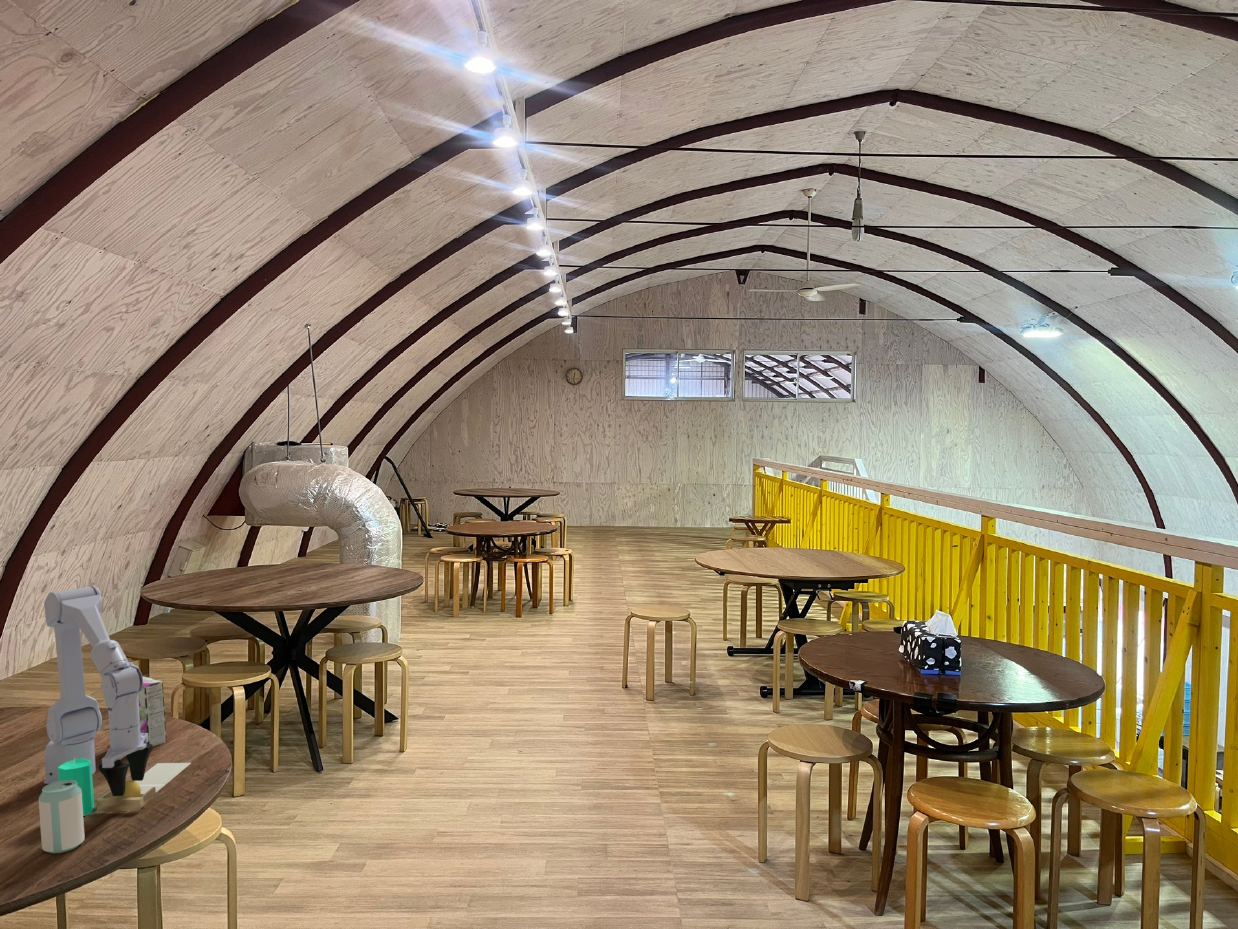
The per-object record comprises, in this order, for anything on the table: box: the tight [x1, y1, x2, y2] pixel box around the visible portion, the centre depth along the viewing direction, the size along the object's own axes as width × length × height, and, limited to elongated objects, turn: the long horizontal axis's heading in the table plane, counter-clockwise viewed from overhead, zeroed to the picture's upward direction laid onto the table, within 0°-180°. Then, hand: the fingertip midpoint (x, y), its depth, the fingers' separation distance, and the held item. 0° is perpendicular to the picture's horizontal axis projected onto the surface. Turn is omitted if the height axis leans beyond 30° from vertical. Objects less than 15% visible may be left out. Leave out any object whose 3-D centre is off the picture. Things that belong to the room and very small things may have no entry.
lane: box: [135, 762, 192, 795], centre depth 205 cm, size 8×22×1 cm, turn 179°
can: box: [38, 780, 86, 854], centre depth 178 cm, size 7×7×12 cm
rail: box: [95, 787, 157, 812], centre depth 196 cm, size 9×6×2 cm
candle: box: [58, 757, 95, 817], centre depth 192 cm, size 6×6×12 cm
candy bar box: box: [137, 675, 167, 747], centre depth 231 cm, size 11×5×16 cm, turn 58°
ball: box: [116, 780, 142, 798], centre depth 197 cm, size 4×4×4 cm
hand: (128, 787), depth 197 cm, fingers open, 7 cm apart
